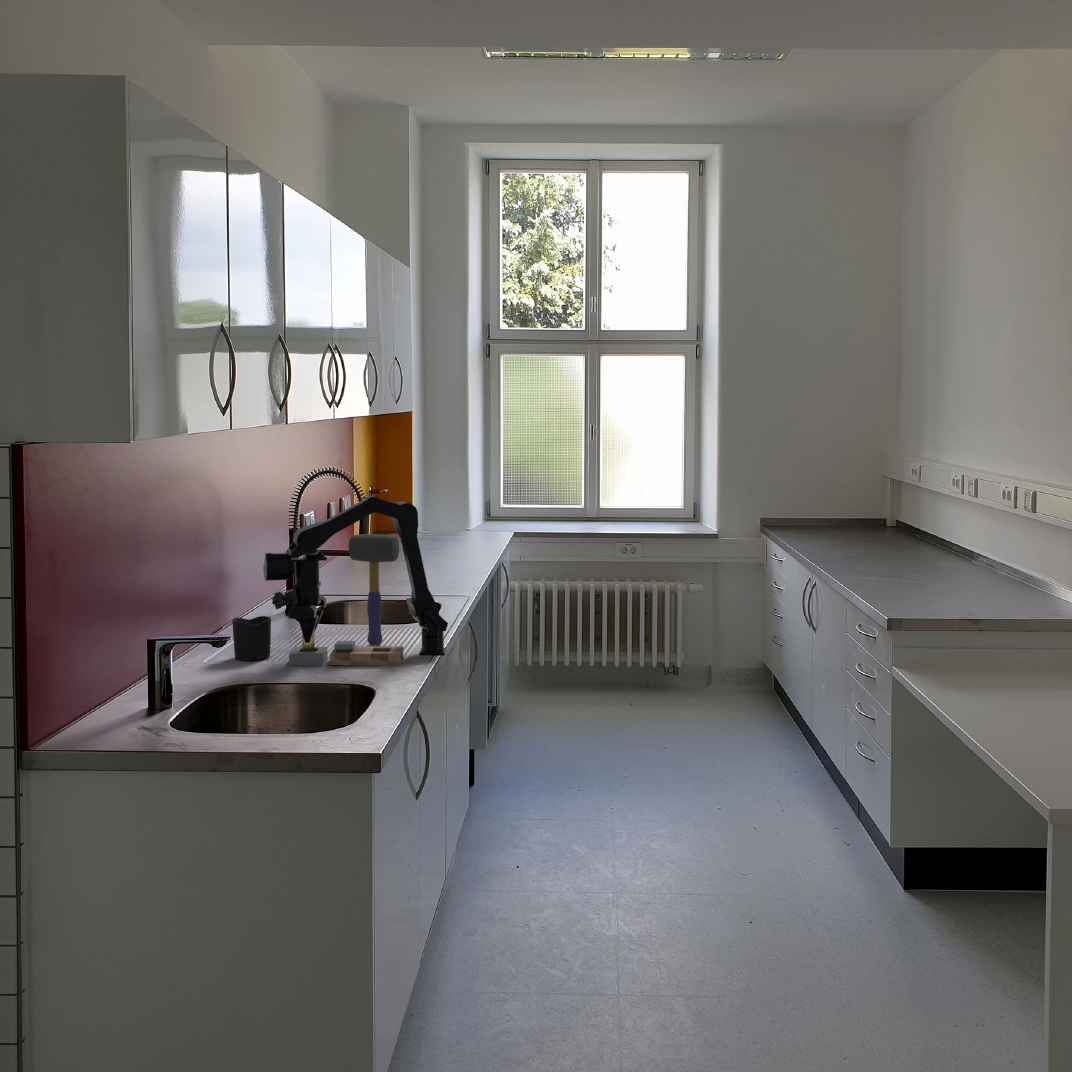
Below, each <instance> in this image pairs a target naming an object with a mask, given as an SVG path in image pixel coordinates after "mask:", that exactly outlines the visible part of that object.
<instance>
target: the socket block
mask: <svg viewBox="0 0 1072 1072" xmlns="http://www.w3.org/2000/svg"><path fill="white" fill-rule="evenodd" d="M403 659H404V645H402V646H401V645H397V646H396V645H391V646H390V645H387V646H386V645H385V646H383V645H379V646H370V645H369V646H367V645H365V646H364V645H363V646H361V645H358V646H356V645H355V647H354V648H353V649H352V651H338V649H335V647H334V648H333V649H332V650H331V652H330V653H329V666H330V665H387V666H386V667H388V666H389V665H391V666H392V665H395V666H399V667H400V666H401V663H402V662H403ZM391 666H389V667H391ZM395 666H394V667H395ZM392 667H393V666H392Z"/></svg>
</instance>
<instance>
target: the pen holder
mask: <svg viewBox="0 0 1072 1072" xmlns="http://www.w3.org/2000/svg"><path fill="white" fill-rule="evenodd" d="M231 621H232V633H233V634H232V635H233V649H234V658H235V660H237V661H239V660H244V661H243V662H257V661H258V660H259V661H265V660H268V659H269V658H270V657H271V645H272V644H271V642H272V639H271V638H272V634H271V633H272V618H271V616H265V615H259V616H257V617H254V618H249V619H247V618H242V617H234V618H232V619H231ZM267 658H268V659H267ZM264 659H265V660H264ZM256 660H257V661H256Z"/></svg>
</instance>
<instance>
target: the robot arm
mask: <svg viewBox="0 0 1072 1072" xmlns="http://www.w3.org/2000/svg"><path fill="white" fill-rule="evenodd" d="M374 513H377V514H380V515H384V516H386V517H390V519H391V522H392V524H393V527H394V529H395V531H396V533H397V534H398V536H399V538H400V542H401V546H402V552H403V556H404V561H405V565H406V569H407V575H408V579H409V584H410V588H411V594H410V595H411V596H410V598H409V597H408V598H406V599H405V601H406V604H407V606H408V612H407V613H408V614H409V615H411V617H412V619H414V620H415V621H416V622H417V623H418V625H419V627H420V628H421V647H420V650H419V652H418V654H419V655H445V654H446V651H447V648H446V647H445V645H444V644H445V643H444V642H445V640H444V638H445V633H444V632H446V631H447V628H448V625H449V623H448V622H447V620H445V619H444V618H443V617H442V616H441V615H440V611H439V608H438V605H437V603H436V601H435V599H434V596H433V594H432V593H431V591H430V589H429V585H428V581H427V576H426V572H425V567H424V561H423V557H422V553H421V549H420V544H419V540H418V531H419V511H418V509H417V506H415V505H414V504H412V503H410V502H405V501H397V502H393V501H392V502H391V501H388V500H385V499H381V498H379V497H377V496H374V495H368V496H365V497H364V498H363V499H362V500H360V501H357V503H355V504H353V505H351V506H349V507H347V508H345V509H343V510H342V511H340V512H338V513H336V514H334V515H332V516H331V517H329V518H327V519H325V520H323V521H319V522H316V523H312V524H310V525H306V526H303V527H300V528H298V529H297V530H295V532H294V535H293V538H292V540H293V541H292V543H290V545H289V547H287V549H286V550H285V552H265V553H264V562H263V563H264V564H263V578H264V581H265V582H270V581H275V582H276V581H290V578H292V576H294V573H295V583H294V584H293V585H292V589H289V590H286V591H283V590H280V591H278V592H275V593H274V594H273V596H272V597H271V600H272V602H271V603H272V605H273V606H274V607H275V610H280V609H282V608H283V607H285V606H288V605H291V604H292V606H291V607H290V608H289V609H288V610H287V611H288V612H287V617H288V619H289V620H290V619H291V620H295V621H296V622H298V623H299V626H300V629H301V634H302V633H303V637H304V641H305V643H309V642H310V640H311V637H312V634H313V631H314V630H315V632H316V630H317V628H318V625H319V623H320V620H321V617H322V616H323V613H324V610H323V609H324V608H326V607H327V598H326V597H325V596H324V595H320V587H321V586H322V583H321V582H322V581H320V561H321V562H322V561H323V562H324V561H328V557H326V556H325V555H324V554H323V552H322V551H321V550H319V549H320V548H321V547H322V546H323V545H324V544H325V543H327V541H328V540H329V539H330V538H331V537H333V536H334V535H336V534H338V533H339V532H341V531H343V530H344V529H346V528H348V527H350V526H351V525H353V524H355V523H357V522H360V521H361V520H363V519H364V518H366V517H368V516H370V515H371V514H374ZM313 552H315V553H313ZM294 564H295V566H294ZM318 607H322V610H321V609H318Z"/></svg>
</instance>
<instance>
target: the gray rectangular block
mask: <svg viewBox="0 0 1072 1072" xmlns="http://www.w3.org/2000/svg"><path fill="white" fill-rule="evenodd" d="M355 646H356V641H355V640H336V642H335V643H334V648H335V649H338V651H352V649H353V648H354V647H355Z"/></svg>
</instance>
